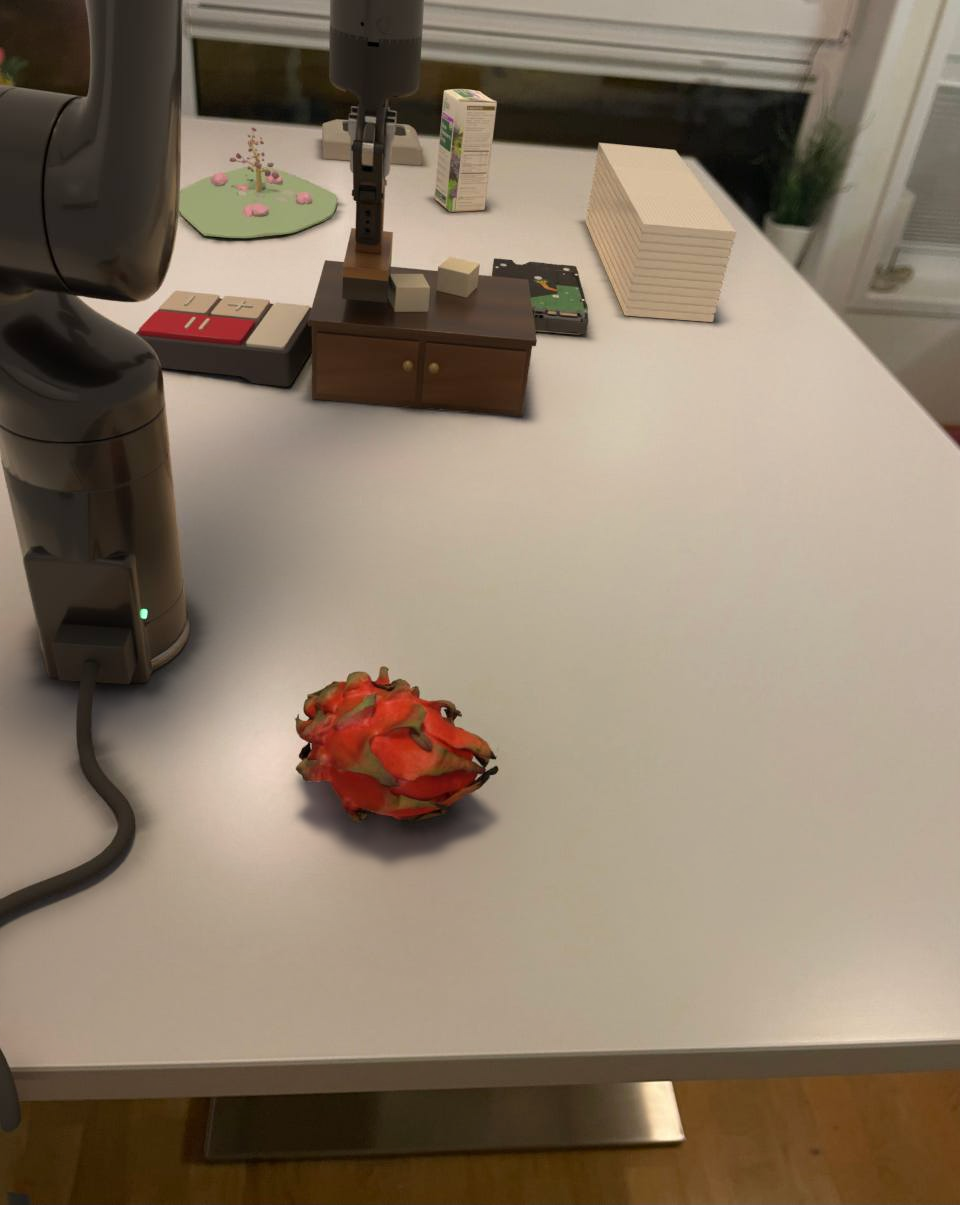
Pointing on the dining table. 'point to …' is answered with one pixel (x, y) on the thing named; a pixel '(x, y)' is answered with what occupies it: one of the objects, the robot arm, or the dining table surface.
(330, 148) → the beige low box
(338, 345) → the cabinet
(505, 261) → the disk drive
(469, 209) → the syrup box
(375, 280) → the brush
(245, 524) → the dining table surface
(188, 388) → the dining table surface
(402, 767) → the dragon fruit
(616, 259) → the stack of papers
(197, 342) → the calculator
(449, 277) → the wooden block
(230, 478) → the dining table surface
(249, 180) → the plant
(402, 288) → the wooden block
